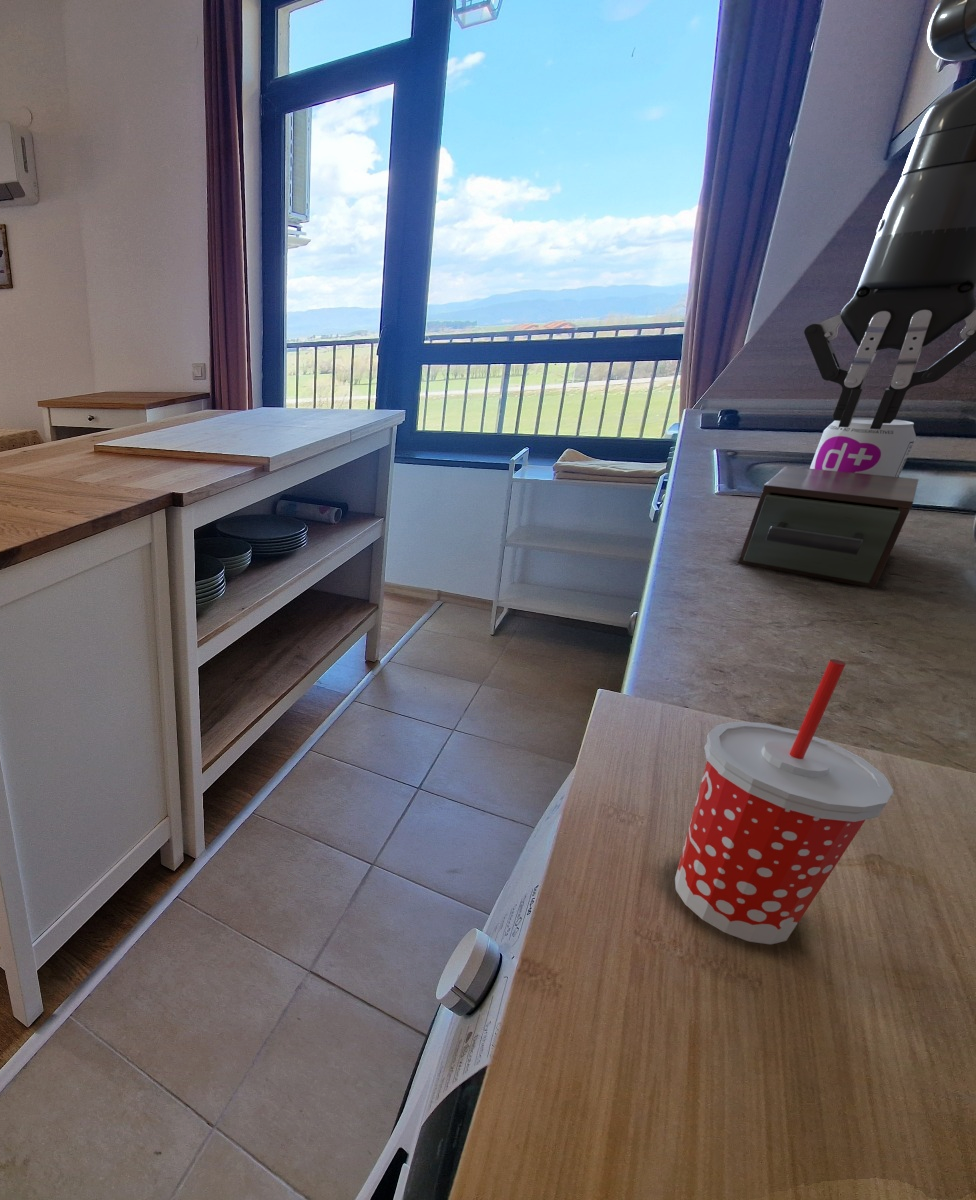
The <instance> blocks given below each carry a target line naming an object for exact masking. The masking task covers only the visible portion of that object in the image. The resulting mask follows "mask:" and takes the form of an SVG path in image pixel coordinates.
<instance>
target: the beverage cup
mask: <svg viewBox="0 0 976 1200" xmlns="http://www.w3.org/2000/svg"><path fill="white" fill-rule="evenodd" d="M846 665H847V663H846V662H845V661H843V660H840V659H836V658H835V659H834V658H832V659H829V661H828V663H827V666H826V668H825V670H824V672H823V675H822V677H821V679H820V682H819V684H818V686H817V689H816V691H815V693H814V696H813V698H812V700H811V702H810V705H809V707H808V709H807V712H806V714H805V716H804V718H803V720H802V723H801V726H800V728H799V730H796V729H792V728H788V727H784V726H779V725H775V724H772V723H771V724H770V723H765V722H753V721H742V720H741V721H739V720H738V721H730V722H725V723H719V724H718V723H717V725H716V726H715V727H713V728H712V729H711V730H710V731H709V732H708V733H707V735H706V741H707V742H706V744H705V745H704V746H703V748H704V754H705V758H706V764H705V768H704V771H703V775H702V779H701V782H700V786H699V789H698V794H697V797H696V800H695V803H694V808H693V811H692V816H691V818H690V819H691V820H690V823H689V826H688V830H687V832H686V833H687V834H686V838H685V841H684V845H683V848H682V851H681V856H680V859H679V863H678V865H677V866H678V867H677V870H676V874H675V877H674V883H675V884H674V885H675V891H676V893H677V894H678V896H679V897H680V899H681V900H682V902H683V903H684V905H685V906H686V907H688V908H689V909H690V910H691V911H692V912H693V913H694V914H695V915H696V916H698V917H699V918H700V919H701V920H702V921H704V922H705V923H707V924H710V925H711V926H713V927H714V928H715V929H718V930H720V931H721V932H723V933H725V934H727V935H729V936H733V937H736V938H738V939H741V940H743V941H746V942H751V943H758V944H766V945H774V944H778V943H782V942H786V941H788V939H789V937H790V936H791V934H792V933H793V931H794V930H795V928H796V927H797V925H798V924H799V922H800V921H801V919H802V917H804V914H805V913H806V911H807V910H808V909H809V907H810V905H811V904H812V902H813V901H814V899H815V898H816V897H817V894H818V893H819V892H820V890H821V888H822V887H823V886H824V885H825V883H826V881H827V879H828V878H829V876H830V875H831V873H832V871H834V869H835V867H836V866H837V864H838V863H839V861H840V860H841V858H842V857H843V855H844V854H845V852H846V851H847V850H848V847H849V846H850V845H851V843H852V841H853V840H854V838H855V837H856V835H857V833H858V832H859V831H860V829H861V828H862V827H863V824H864V823H865V821H866V820H872V819H877V818H878V817H879V816H880V814H881V813H882V811H883V809H884V808H885V807H886V806H887V803H888V802H889V800H890V799H891V797H892V795H893V793H894V792H895V791H894V789H893V787H892V785H891V784H890V781H889V780H888V777H886V775H885V774H884V773H883V772H881V771H880V770H878V769H877V768H876V767H875V766H873V765H872V764H871V763H870V762H869V761H867V760H866V759H864V758H863V757H861V756H860V755H857V754H855V753H853V752H851V751H849V750H847V749H845V748H844V747H842V746H840V745H837V744H836V743H834V742H832V741H828V740H827V739H823V738H821V737H817V736H815V733H816V732H817V729H818V727H819V724H820V722H821V720H822V718H823V716H824V714H825V711H826V709H827V708H828V705H829V702H830V700H831V698H832V695H833V693H834V691H835V690H836V689H835V688H836V687H837V684H838V682H839V680H840V678H841V675H842V673H843V671H844V668H845V666H846Z"/></svg>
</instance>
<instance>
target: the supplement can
mask: <svg viewBox="0 0 976 1200" xmlns="http://www.w3.org/2000/svg"><path fill="white" fill-rule="evenodd" d="M873 420H874V417H853V418H852V421H851V423H850V426H849V427H838V426H839V423H840V421H834V420H833V421H832V422H831V423H830V424H829V425H828V426H827V427H826V428H825V429H823V431H822V433H821V434H822V435H821V437H820V439H819V443H818V445H817V448H816V450H815V453H814V456H813V459H812V461H811V463H810V467H809V469H818V470H829V471H839V472H850V473H860V474H871V475H881V476H892V477H900V475H901V473H902V471H903V468H904V466H905V464H906V462H907V460H908V457H909V456H910V453H911V450H912V448H913V446H914V442H915V441H916V440H917V439H916V438H917V435H916V432H915V427H914V425H915V423H914V422H913V421H909V420H902V419H894V420H893V421H892V422H891V423H890V424H889V423H883V424H882V427H881V429H870V427H871V425H872V422H873Z"/></svg>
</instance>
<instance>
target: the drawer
mask: <svg viewBox="0 0 976 1200" xmlns="http://www.w3.org/2000/svg"><path fill="white" fill-rule="evenodd" d="M899 514H900V510H893V509H891V507H887V506H878V505H870V504H862V503H853V502H845V501H836V500H828V499H820V498H811V497H803V496H794V495H786V494H778V495H769V494H768V495H767V496H766V497H765V500H764V503H763V506H762V509H761V511H760V514H759V517H758V520H757V523H756V526H755V529H754V531H753V534H752V537H751V540H750V543H749V546H748V549H747V551H746V554H745V557H744V561H748V562H754V563H759V564H765V565H771V566H776V567H782V568H787V569H793V570H798V571H804V572H809V573H815V574H820V575H826V576H831V577H837V578H842V579H848V580H853V581H859V582H865V583H869V582H870V580H871V578H872V575H873V573H874V571H875V569H876V566H877V564H878V562H879V559H880V557H881V555H882V553H883V550H884V548H885V546H886V544H887V541H888V539H889V537H890V534H891V532H892V530H893V528H894V525H895V523H896V521H897V519H898V516H899Z"/></svg>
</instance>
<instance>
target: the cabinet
mask: <svg viewBox="0 0 976 1200" xmlns="http://www.w3.org/2000/svg"><path fill="white" fill-rule="evenodd" d="M918 482H919V479H918V478H911V477H903V476H901V477H900V476H899V477H892V476H881V475H871V474H860V473H850V472H839V471H829V470H818V469H810V468H809V467H808V468H806V467H797V466H787V465H786V466H784V467H783V468H781V470H779V472H778V473H776V474H775V475H774V476H773V477H772V478H770V480H769V481H767V482H766V483H764V485H763V487H762V491H761V494H760V496H759V500H758V502H757V505H756V508H755V511H754V514H753V517H752V520H751V523H750V526H749V528H748V532H747V534H746V537H745V540H744V542H743V546H742V549H741V551H740V554H739V557H738V560H737V564H742V565H746V566H753V567H758V568H764V569H769V570H773V571H780V572H785V573H789V574H795V575H801V576H806V577H807V576H808V577H812V578H817V579H818V578H819V579H824V580H828V581H835V582H840V583H845V584H850V585H855V586H861V587H867V588H872V589H876V587H877V585H878V582H879V580H880V578H881V576H882V574H883V571H884V569H885V567H886V564H887V562H888V560H889V558H890V555H891V553H892V551H893V548H894V546H895V544H896V543H897V539H898V537H899V535H900V533H901V531H902V529H903V526H904V524H905V522H906V519H907V517H908V515H909V514H910V510H911V508H912V506H913V504H914V501H915V496H916V493H917V487H918V484H919V483H918ZM768 494H769V495H778V494H786V495H794V496H803V497H811V498H820V499H828V500H836V501H845V502H853V503H862V504H870V505H878V506H887V507H891V509H893V510H900V514H899V516H898V519H897V521H896V523H895V525H894V528H893V530H892V532H891V534H890V537H889V539H888V541H887V544H886V546H885V548H884V550H883V553H882V555H881V557H880V559H879V562H878V564H877V566H876V569H875V571H874V573H873V575H872V578H871V580H870V582H869V583H865V582H859V581H853V580H848V579H842V578H837V577H831V576H826V575H820V574H815V573H809V572H804V571H798V570H793V569H787V568H782V567H776V566H771V565H765V564H759V563H754V562H748V561H744V557H745V554H746V551H747V549H748V546H749V543H750V540H751V537H752V534H753V531H754V529H755V526H756V523H757V520H758V517H759V514H760V511H761V509H762V506H763V503H764V500H765V497H766V496H767V495H768Z"/></svg>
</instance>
